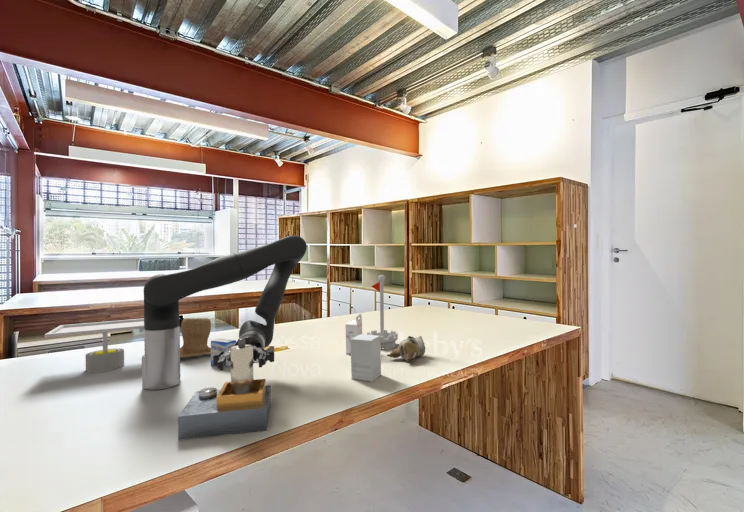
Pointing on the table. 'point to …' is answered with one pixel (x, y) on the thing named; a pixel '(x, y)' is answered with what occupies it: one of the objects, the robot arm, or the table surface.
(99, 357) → the solar panel model
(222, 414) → the grey base with tray
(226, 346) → the medicine box
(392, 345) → the flag stand
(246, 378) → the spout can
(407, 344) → the ceramic sculpture
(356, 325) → the ink cartridge box
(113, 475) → the table surface
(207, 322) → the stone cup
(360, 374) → the supplement box
